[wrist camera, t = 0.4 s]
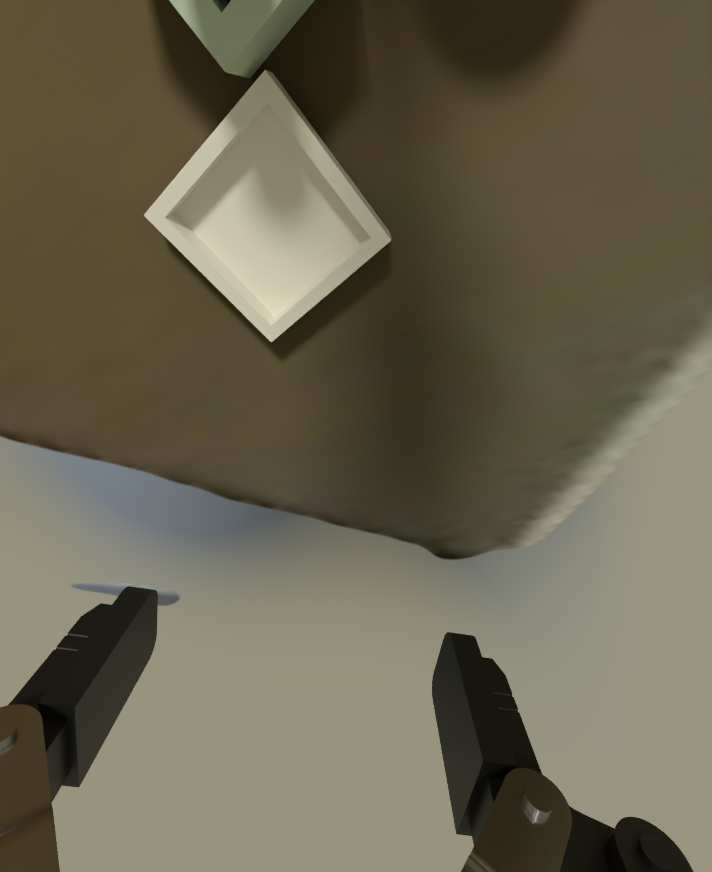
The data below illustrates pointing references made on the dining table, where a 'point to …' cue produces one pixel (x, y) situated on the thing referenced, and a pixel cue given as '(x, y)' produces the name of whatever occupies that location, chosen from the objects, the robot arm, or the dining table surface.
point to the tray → (269, 211)
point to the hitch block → (241, 28)
